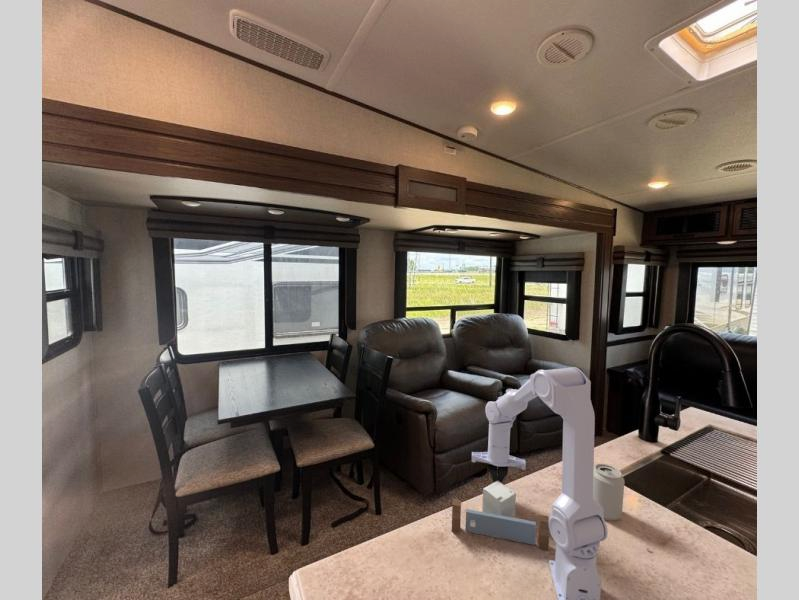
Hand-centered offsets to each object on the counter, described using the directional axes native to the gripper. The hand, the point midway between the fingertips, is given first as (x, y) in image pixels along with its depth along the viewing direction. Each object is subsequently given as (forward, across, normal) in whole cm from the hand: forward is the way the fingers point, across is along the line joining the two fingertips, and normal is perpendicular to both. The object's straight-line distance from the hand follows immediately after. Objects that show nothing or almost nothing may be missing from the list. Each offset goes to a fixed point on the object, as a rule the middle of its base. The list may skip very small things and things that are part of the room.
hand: (496, 488), depth 91 cm
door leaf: (+2, 0, +15) cm, 16 cm away
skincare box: (+2, 0, +8) cm, 8 cm away
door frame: (+2, 0, +15) cm, 15 cm away
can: (+2, -28, -1) cm, 28 cm away
